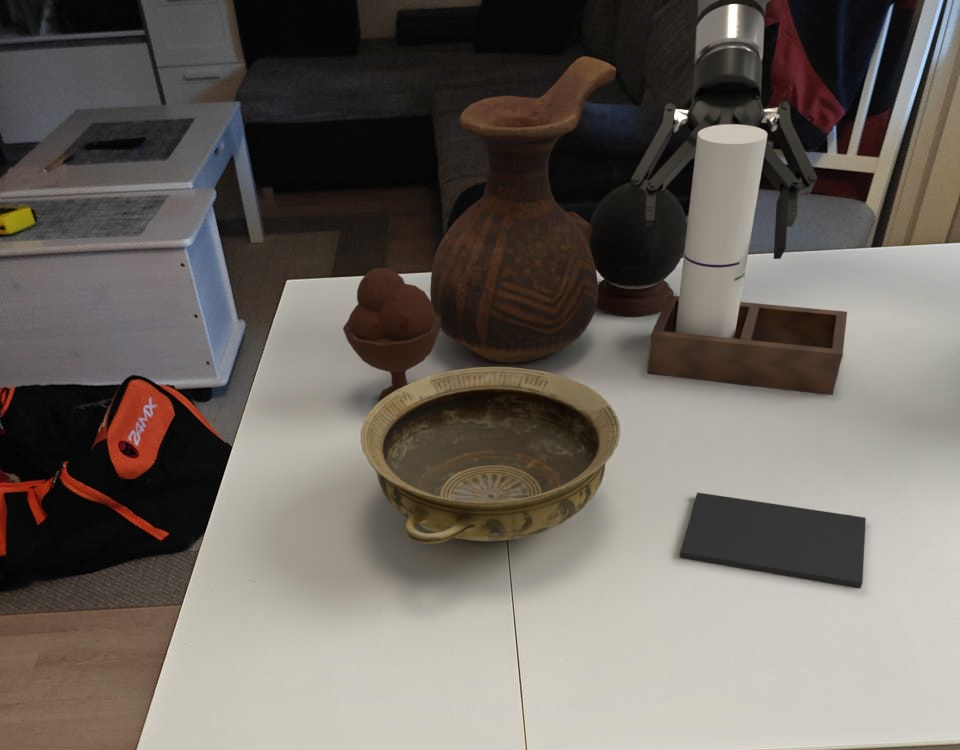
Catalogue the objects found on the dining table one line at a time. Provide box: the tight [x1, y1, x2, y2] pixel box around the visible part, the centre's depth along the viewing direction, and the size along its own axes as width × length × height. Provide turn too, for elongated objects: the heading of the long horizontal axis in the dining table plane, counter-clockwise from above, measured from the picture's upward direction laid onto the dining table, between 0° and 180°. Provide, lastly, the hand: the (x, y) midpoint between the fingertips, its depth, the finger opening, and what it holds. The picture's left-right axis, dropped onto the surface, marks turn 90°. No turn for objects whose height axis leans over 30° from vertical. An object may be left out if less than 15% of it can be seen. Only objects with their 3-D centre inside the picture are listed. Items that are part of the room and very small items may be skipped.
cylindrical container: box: [675, 124, 769, 338], centre depth 101 cm, size 7×7×25 cm
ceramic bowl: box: [360, 366, 621, 545], centre depth 85 cm, size 30×24×10 cm
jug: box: [429, 56, 617, 364], centre depth 105 cm, size 22×22×30 cm
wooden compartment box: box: [647, 295, 848, 395], centre depth 106 cm, size 22×11×5 cm, turn 71°
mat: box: [679, 492, 867, 588], centre depth 83 cm, size 16×10×1 cm, turn 71°
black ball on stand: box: [589, 182, 688, 317], centre depth 117 cm, size 13×13×15 cm
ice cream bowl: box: [342, 267, 441, 403], centre depth 100 cm, size 11×11×15 cm
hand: (717, 253), depth 99 cm, fingers open, 13 cm apart
